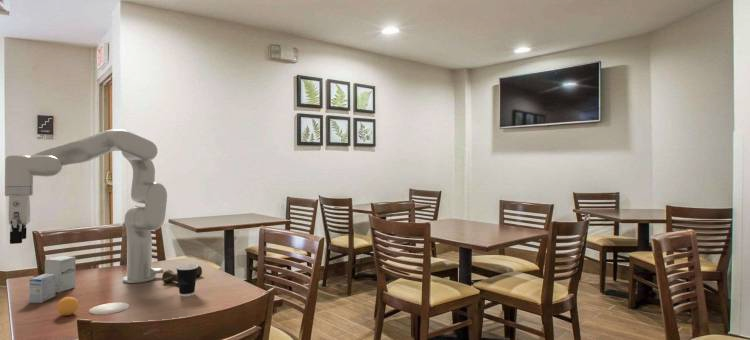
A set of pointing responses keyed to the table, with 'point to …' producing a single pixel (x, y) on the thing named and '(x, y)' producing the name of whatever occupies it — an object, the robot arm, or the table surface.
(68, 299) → the ball
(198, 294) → the table surface
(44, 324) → the table surface
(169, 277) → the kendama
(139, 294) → the table surface
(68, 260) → the supplement box
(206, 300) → the table surface
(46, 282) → the medicine box
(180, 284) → the dixie cup
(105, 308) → the disc
